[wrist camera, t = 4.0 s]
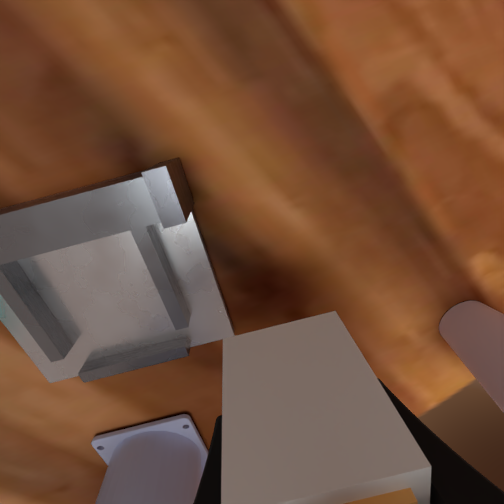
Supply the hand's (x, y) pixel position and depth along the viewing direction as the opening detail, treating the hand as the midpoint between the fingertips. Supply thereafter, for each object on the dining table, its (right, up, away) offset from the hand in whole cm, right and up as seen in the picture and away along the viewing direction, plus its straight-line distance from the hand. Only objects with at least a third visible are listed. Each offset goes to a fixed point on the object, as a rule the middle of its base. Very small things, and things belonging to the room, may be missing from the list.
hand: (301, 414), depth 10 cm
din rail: (-11, +4, +7) cm, 13 cm away
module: (0, +1, +2) cm, 2 cm away
